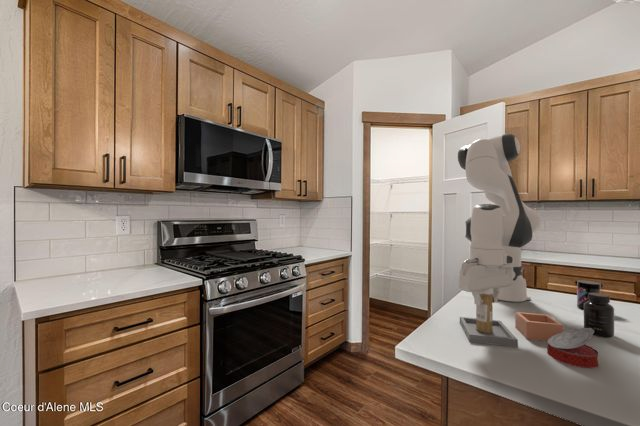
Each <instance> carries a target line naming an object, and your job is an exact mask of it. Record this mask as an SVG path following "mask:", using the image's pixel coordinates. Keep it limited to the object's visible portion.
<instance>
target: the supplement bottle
mask: <svg viewBox="0 0 640 426" xmlns="http://www.w3.org/2000/svg"><path fill="white" fill-rule="evenodd" d="M588 299H589V301H587V302H585V303H584V310H583V328H592V329H593V330H594V333H593V335H592V336H595V337H600V338H606V339H607V338H613V337H614V336H615V308H614V306H613V305H612V304H610V302H611V300H610V296H609V294H605V293H601V292H600V293H588Z"/></svg>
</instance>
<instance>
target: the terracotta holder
mask: <svg viewBox="0 0 640 426" xmlns="http://www.w3.org/2000/svg"><path fill="white" fill-rule="evenodd" d="M514 314H515V317H514V318H515V324H514V325H515V326H514V327H515V329H516V330H517V331H518V332H519V333H520V334H521V335H522V336H523V337H524V338H525V339H526V340H532V339H533V340H532V341H542V342H547V341H548V339H549V338H551V337H552V336H554V335H556V334H558V333H562V332H564V324H562V323H561V322H559V321H558V320H557V319H556V318H554V317H552V316H551V315H549V314H543V313H534V312H533V313H532V312H531V313H530V312H522V311H521V312H520V311H515V313H514Z"/></svg>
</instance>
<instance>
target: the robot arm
mask: <svg viewBox="0 0 640 426" xmlns="http://www.w3.org/2000/svg"><path fill="white" fill-rule="evenodd" d="M520 150H521V144H520V141H519V139H518V138H517V137H516V135H514V134H512V133H506V134H502V135H499V136H498V135H497V136H493V137H488V138H482V139H481V138H480V139H477V140H475V141H473V142H471V144H466V145H464V146H462V147H460V149H459V150H458V152H457V162H458V164H459V166H460V167H461V169H463V170H465V177H466V180H467V182H468V183H469V184H470V185H471V186H472V187H474V188H475V189H478V190H480V191H483V192H484V194H485V197H486V199H487V200H488V201H489V202H491V203H492V204H491V203H480V204H476V205H474V206H473V208H472V211H471V216H470V217H469V218H468V219H467V220H465V221H464V223H465V239H467V240H468V241H469V242H470V245H469V250H470V251H469V258H467V259H465V260H464V261H463V263H461V267H460V270H459V275H458V289H460V291H463V292H467V293H471V295H472V296H473V298H474V303H473V304H474V305H475V306H476V305H483V299H481V297H480V294H481V290H488V289H493V295H492V304H495V303H498V301H499V300H500V301H505V302H513V303H514V302H517V303H519V302H525V301H528V300H531V299H532V298H531V296H529V295H528V293H527V280H526V279H525V278H524V277H523V276H522V275H523V271H524V270H523V266H522V249H521V248H522V247H525V246H526V245H528V244H529V243H530V242H531V241H532V240H533V234H534V233H535V232H537V231H538V229H539V228H540V226H541V217H540V215H539V213H538V212H537V211H535V210H534V209H532V208H530V207H529V205H528V206H527V204H525V203H524V202H523V200H522V199H521V196H520V193H519V190H518V188H517V185H516V183H515V180H514V178H513V173H512V171H511V167H510V165H509V163H512V162H513V161H514V160H516V159H517V158H518V157H519V155H520Z"/></svg>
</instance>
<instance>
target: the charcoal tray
mask: <svg viewBox="0 0 640 426" xmlns="http://www.w3.org/2000/svg"><path fill="white" fill-rule="evenodd" d="M459 324H460V326H461V329H462V330H463V332H464V335H465V336H466V338H467V340H468V341H469V342H472V343H479V344H486V345H487V344H488V345H497V346H505V347H513V348H518V347H519V341H518V340H519V339H518V338H517V337H516V336H515V335H514V334H513V333H512V332H511V331H510V329H509V328H508V327H506V325H505V324H504V323H503V322H502V321H501V320H496V319H495V320H494V319H493V321H492V329H493V332H492V333H483V332H480V331H478V330H477V329H476V317H467V316H459Z"/></svg>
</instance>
